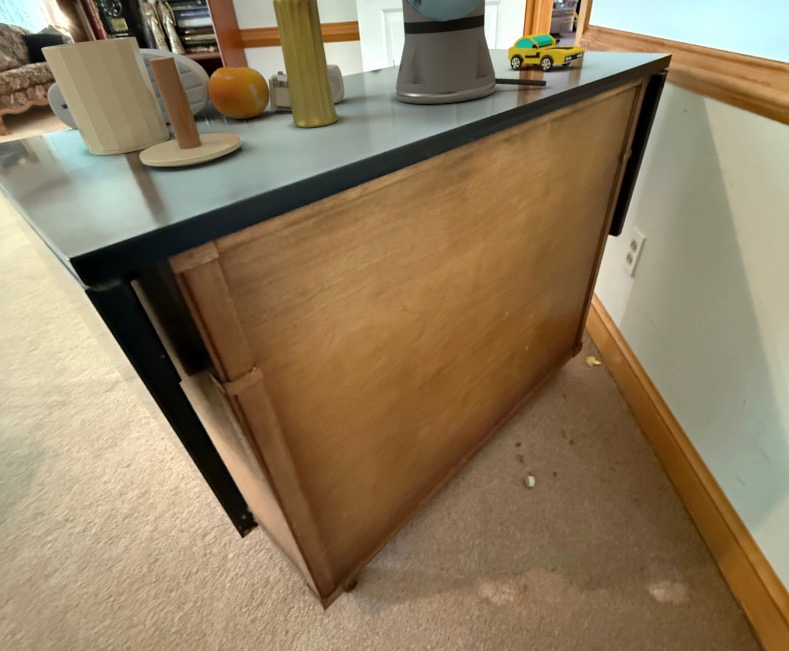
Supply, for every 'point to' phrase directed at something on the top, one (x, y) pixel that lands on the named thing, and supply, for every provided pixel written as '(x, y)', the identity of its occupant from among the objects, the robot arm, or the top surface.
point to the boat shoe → (189, 71)
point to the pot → (108, 94)
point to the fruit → (238, 92)
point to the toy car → (543, 51)
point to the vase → (305, 62)
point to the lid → (182, 125)
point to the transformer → (279, 92)
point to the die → (336, 83)
